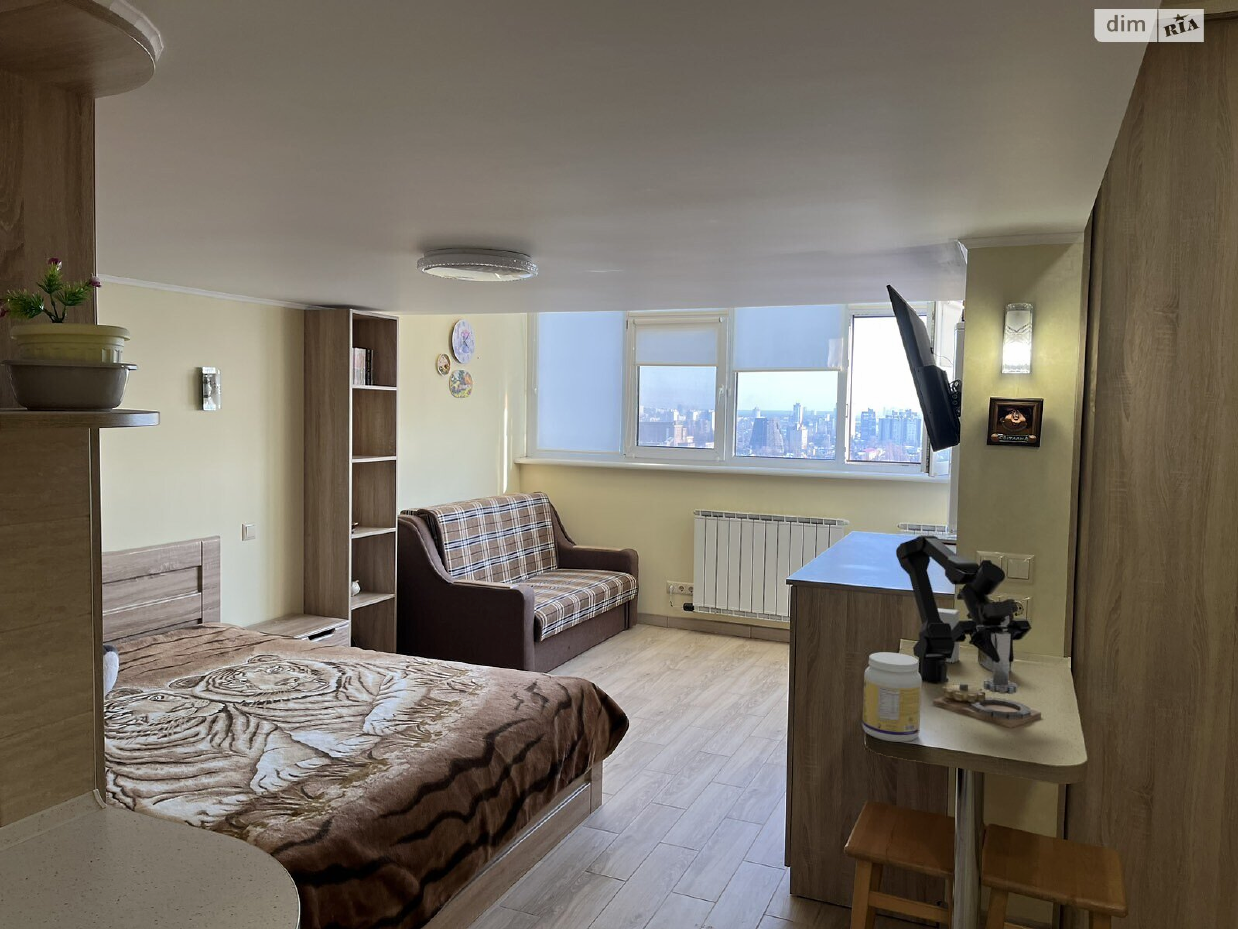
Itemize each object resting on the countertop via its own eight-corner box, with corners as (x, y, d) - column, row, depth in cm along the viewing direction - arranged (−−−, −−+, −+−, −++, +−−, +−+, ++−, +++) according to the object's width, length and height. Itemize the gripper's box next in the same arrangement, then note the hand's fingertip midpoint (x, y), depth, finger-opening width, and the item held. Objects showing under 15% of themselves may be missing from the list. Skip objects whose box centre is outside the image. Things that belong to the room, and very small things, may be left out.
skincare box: (959, 659, 259) (961, 610, 259) (953, 664, 254) (956, 613, 254) (929, 655, 264) (931, 606, 264) (924, 659, 259) (926, 609, 259)
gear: (980, 690, 207) (983, 633, 207) (987, 683, 213) (989, 628, 213) (1013, 696, 203) (1016, 638, 203) (1019, 688, 209) (1022, 632, 209)
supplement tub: (865, 721, 202) (868, 648, 201) (921, 729, 197) (924, 655, 196) (858, 738, 190) (861, 661, 190) (917, 747, 186) (920, 668, 185)
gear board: (929, 703, 216) (930, 684, 216) (960, 694, 224) (961, 675, 224) (1010, 728, 199) (1011, 706, 199) (1040, 717, 208) (1041, 697, 207)
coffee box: (1012, 671, 248) (1014, 615, 247) (989, 670, 248) (991, 614, 247) (998, 663, 257) (1001, 608, 256) (976, 662, 257) (979, 607, 257)
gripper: (959, 587, 209) (985, 645, 199) (1028, 586, 213) (1057, 643, 203) (939, 613, 217) (963, 669, 207) (1006, 611, 221) (1033, 667, 211)
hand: (1005, 661), depth 207 cm, fingers closed on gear, 3 cm apart
